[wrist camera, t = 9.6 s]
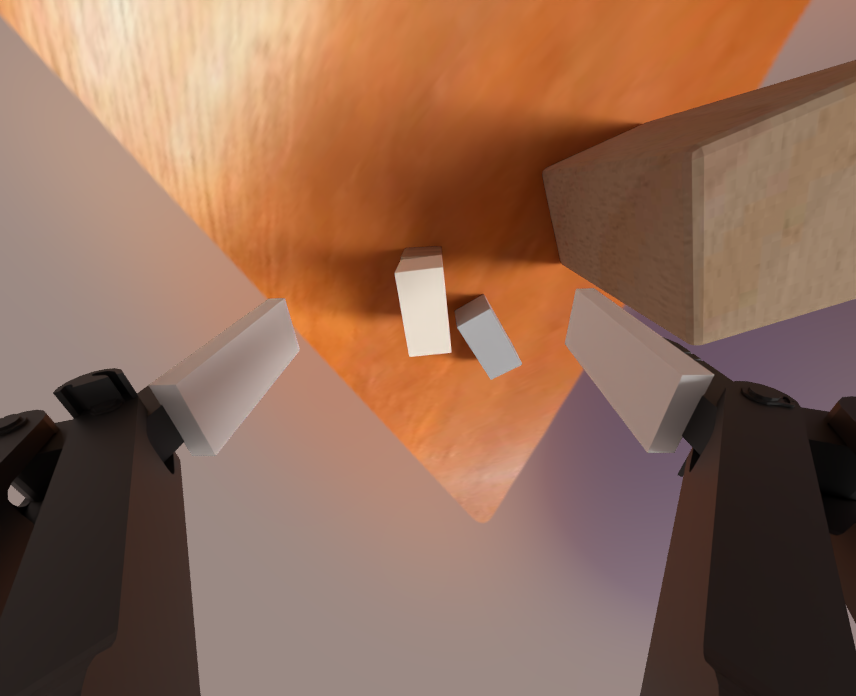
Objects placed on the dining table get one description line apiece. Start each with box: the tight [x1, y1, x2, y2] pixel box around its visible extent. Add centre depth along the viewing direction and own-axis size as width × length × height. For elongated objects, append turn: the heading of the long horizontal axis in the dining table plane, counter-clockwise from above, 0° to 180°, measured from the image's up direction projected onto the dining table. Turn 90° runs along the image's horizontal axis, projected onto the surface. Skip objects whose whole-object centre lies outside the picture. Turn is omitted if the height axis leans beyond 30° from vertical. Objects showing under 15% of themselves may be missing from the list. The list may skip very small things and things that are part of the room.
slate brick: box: [455, 294, 522, 379], centre depth 36 cm, size 8×4×5 cm, turn 33°
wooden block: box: [542, 60, 856, 345], centre depth 22 cm, size 10×10×20 cm
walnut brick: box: [401, 246, 442, 260], centre depth 33 cm, size 8×4×5 cm, turn 3°
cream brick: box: [395, 255, 452, 357], centre depth 29 cm, size 8×4×5 cm, turn 7°
